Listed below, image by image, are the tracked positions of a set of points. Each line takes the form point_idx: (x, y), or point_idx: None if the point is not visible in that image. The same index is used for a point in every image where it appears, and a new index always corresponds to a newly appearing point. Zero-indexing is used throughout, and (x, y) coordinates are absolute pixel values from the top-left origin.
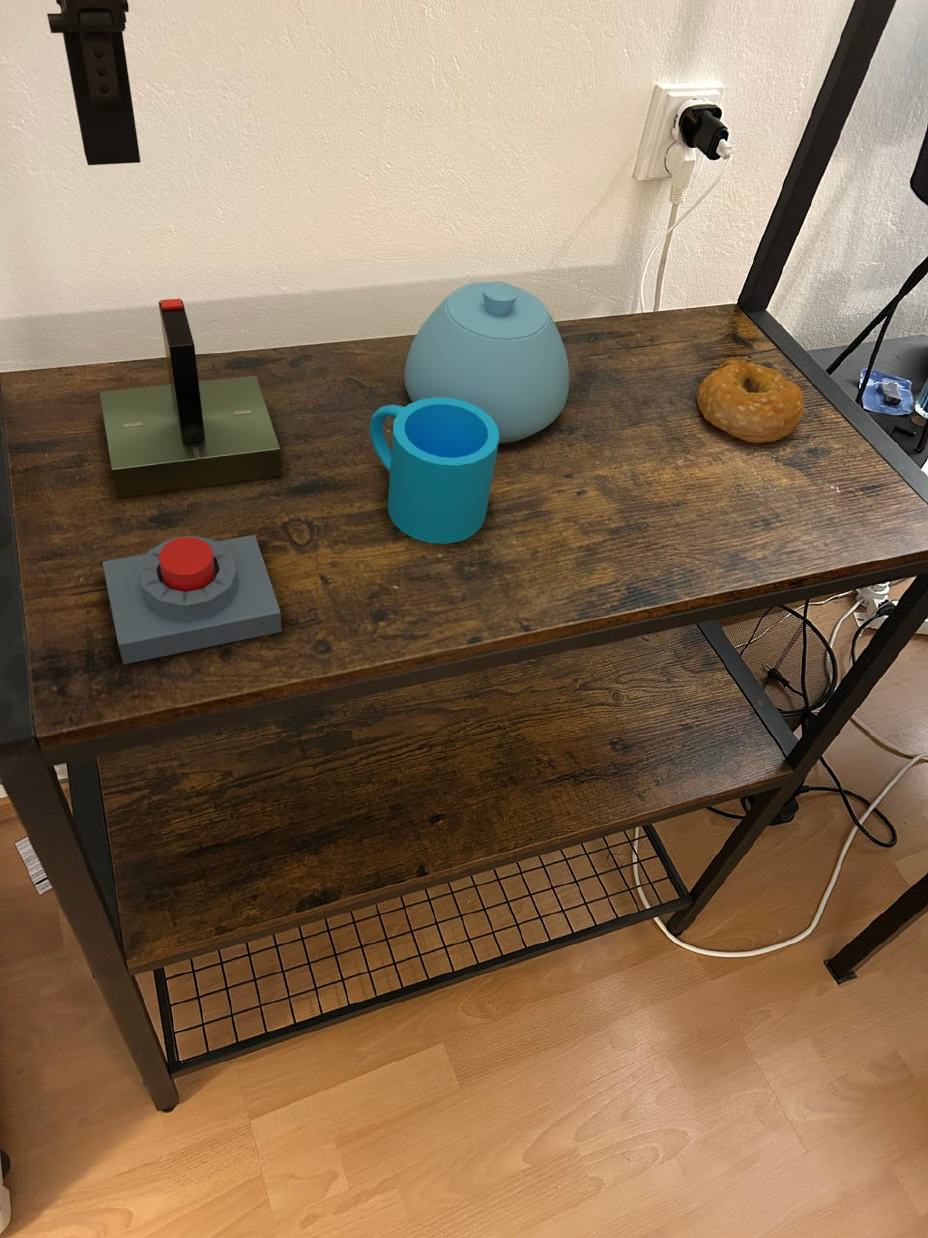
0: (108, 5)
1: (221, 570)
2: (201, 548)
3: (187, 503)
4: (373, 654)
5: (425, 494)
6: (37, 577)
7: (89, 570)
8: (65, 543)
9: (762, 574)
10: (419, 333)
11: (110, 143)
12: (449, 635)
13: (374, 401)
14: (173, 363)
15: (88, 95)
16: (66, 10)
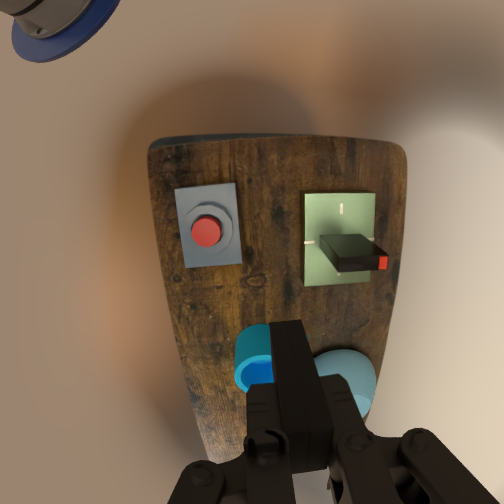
0: None
1: (203, 247)
2: (210, 241)
3: (289, 227)
4: (170, 299)
5: (239, 351)
6: (245, 146)
7: (245, 172)
8: (269, 161)
9: (202, 432)
10: (358, 371)
11: (272, 358)
12: (179, 330)
13: (347, 330)
14: (335, 254)
15: (275, 383)
16: (184, 486)
